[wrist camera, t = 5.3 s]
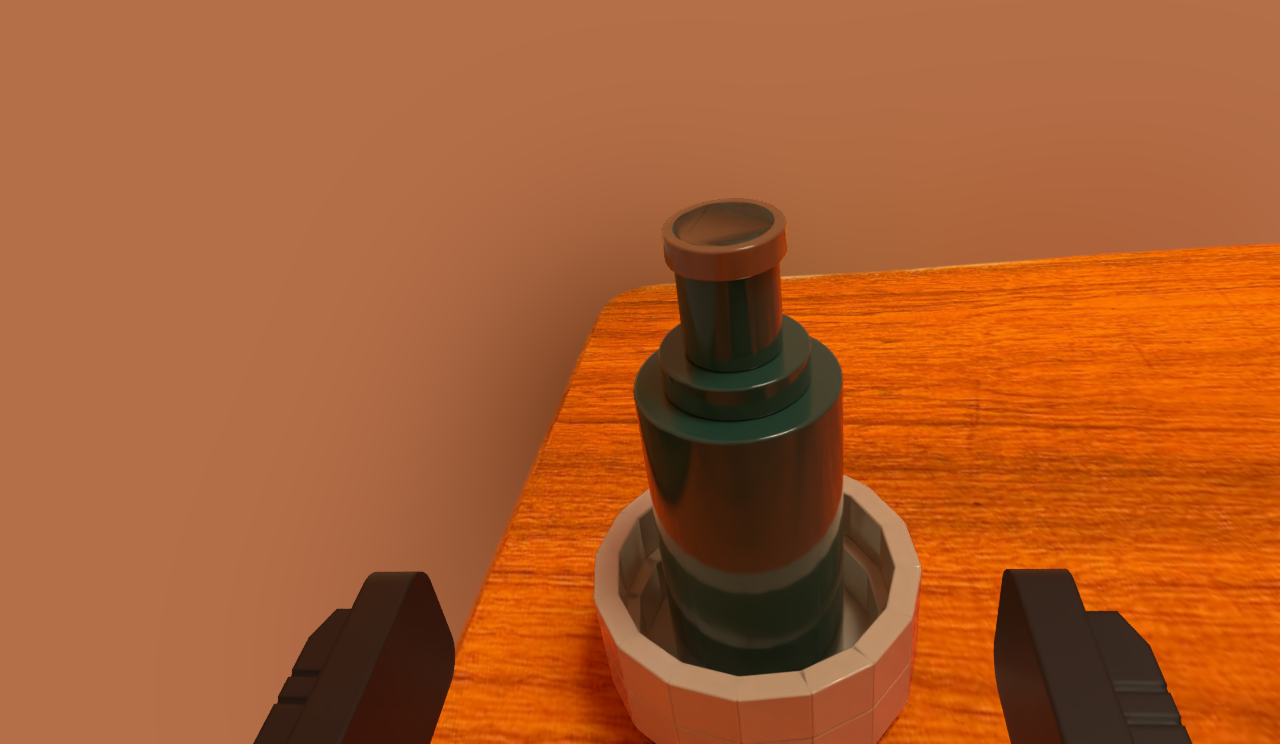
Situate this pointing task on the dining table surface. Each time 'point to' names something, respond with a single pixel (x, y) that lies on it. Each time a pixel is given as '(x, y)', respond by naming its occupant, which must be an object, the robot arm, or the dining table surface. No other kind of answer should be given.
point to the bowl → (778, 702)
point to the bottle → (743, 452)
